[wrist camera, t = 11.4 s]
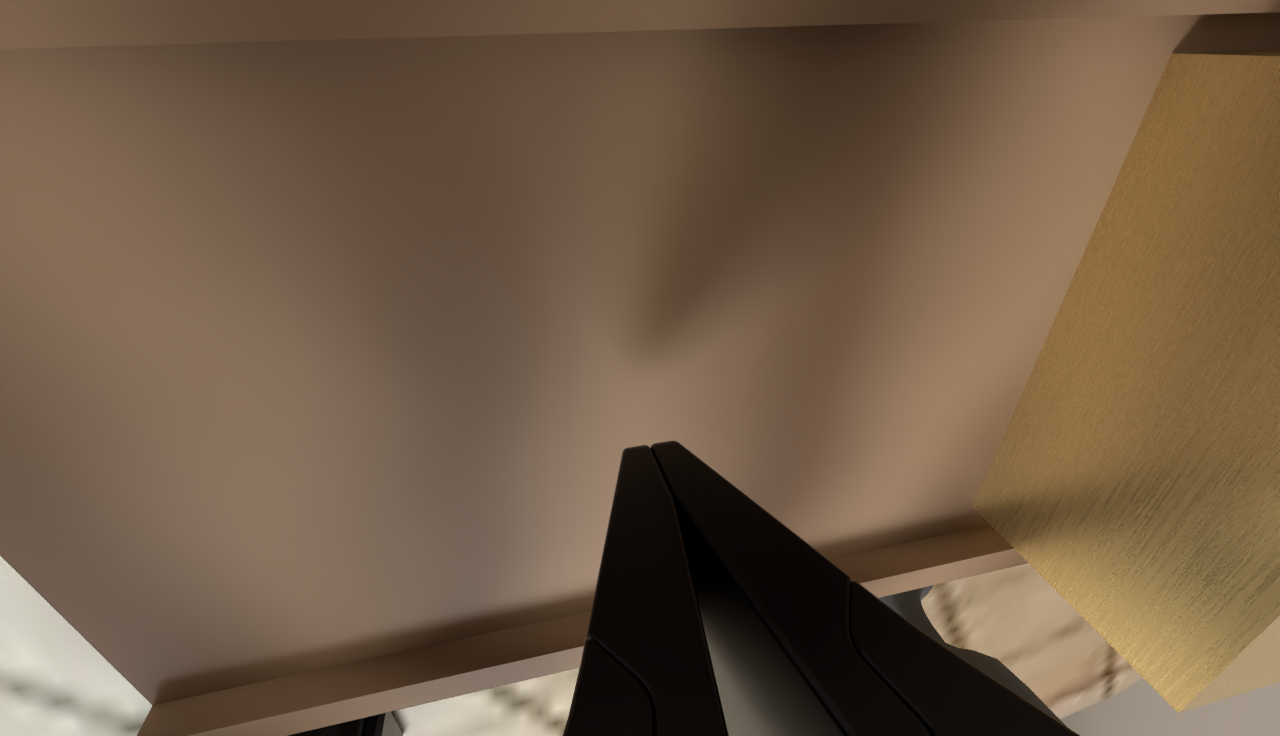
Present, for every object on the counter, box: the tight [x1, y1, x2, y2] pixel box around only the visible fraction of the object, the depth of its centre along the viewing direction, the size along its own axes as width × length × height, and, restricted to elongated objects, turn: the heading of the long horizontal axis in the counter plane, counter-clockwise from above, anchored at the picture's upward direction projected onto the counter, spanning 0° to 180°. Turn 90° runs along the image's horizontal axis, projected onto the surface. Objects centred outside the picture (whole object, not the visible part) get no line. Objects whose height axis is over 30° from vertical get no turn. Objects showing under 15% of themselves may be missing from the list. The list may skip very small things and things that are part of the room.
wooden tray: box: [0, 0, 1280, 736], centre depth 10 cm, size 26×15×4 cm, turn 91°
